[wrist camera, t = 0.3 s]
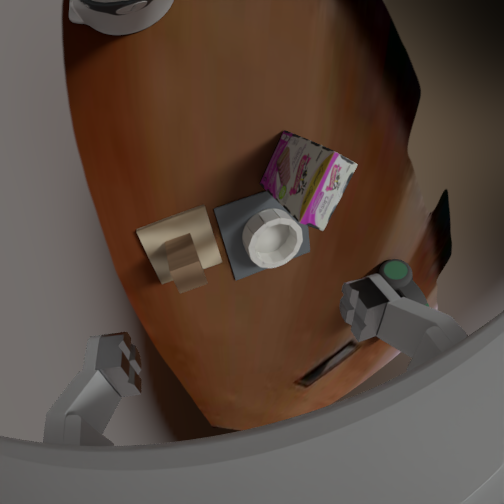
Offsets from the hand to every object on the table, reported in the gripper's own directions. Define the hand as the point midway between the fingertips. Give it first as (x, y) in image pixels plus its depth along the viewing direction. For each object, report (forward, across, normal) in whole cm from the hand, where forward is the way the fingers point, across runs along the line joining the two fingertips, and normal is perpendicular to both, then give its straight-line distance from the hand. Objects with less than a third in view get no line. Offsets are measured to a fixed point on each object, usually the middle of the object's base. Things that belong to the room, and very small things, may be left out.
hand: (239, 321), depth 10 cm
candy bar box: (+42, -15, +7) cm, 45 cm away
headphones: (+48, -51, +50) cm, 86 cm away
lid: (+41, +5, +20) cm, 46 cm away
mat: (+42, -12, +22) cm, 49 cm away
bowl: (+42, -12, +22) cm, 49 cm away
